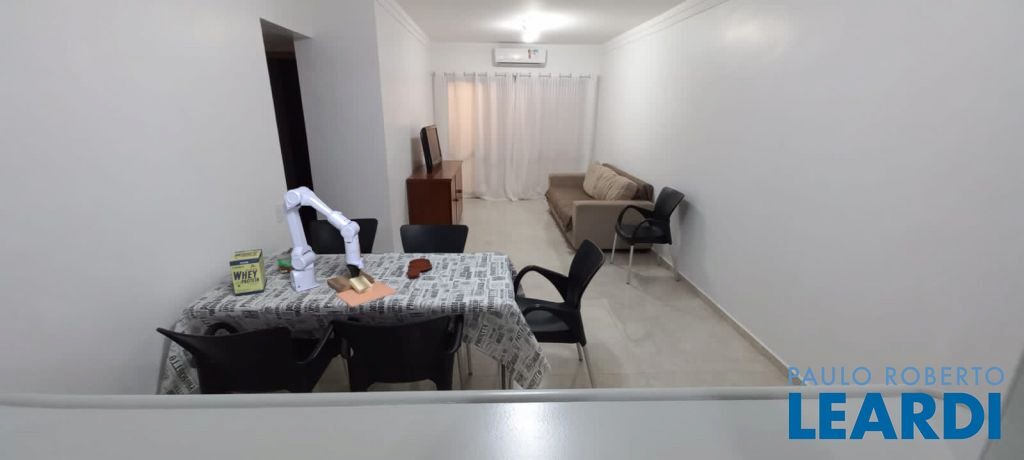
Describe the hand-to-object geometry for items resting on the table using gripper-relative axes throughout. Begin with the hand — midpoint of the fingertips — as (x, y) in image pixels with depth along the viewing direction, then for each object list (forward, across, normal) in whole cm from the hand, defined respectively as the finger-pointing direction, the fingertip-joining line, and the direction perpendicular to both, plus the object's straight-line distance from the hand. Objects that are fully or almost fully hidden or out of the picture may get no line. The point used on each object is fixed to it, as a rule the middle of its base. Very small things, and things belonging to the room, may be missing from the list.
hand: (355, 279), depth 181 cm
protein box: (+4, +31, +33) cm, 46 cm away
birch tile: (+2, -5, 0) cm, 5 cm away
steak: (+4, -4, -29) cm, 30 cm away
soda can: (+4, +30, -13) cm, 33 cm away
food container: (+4, +42, +13) cm, 44 cm away
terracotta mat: (+4, -10, 0) cm, 10 cm away
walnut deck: (+4, +5, 0) cm, 6 cm away
